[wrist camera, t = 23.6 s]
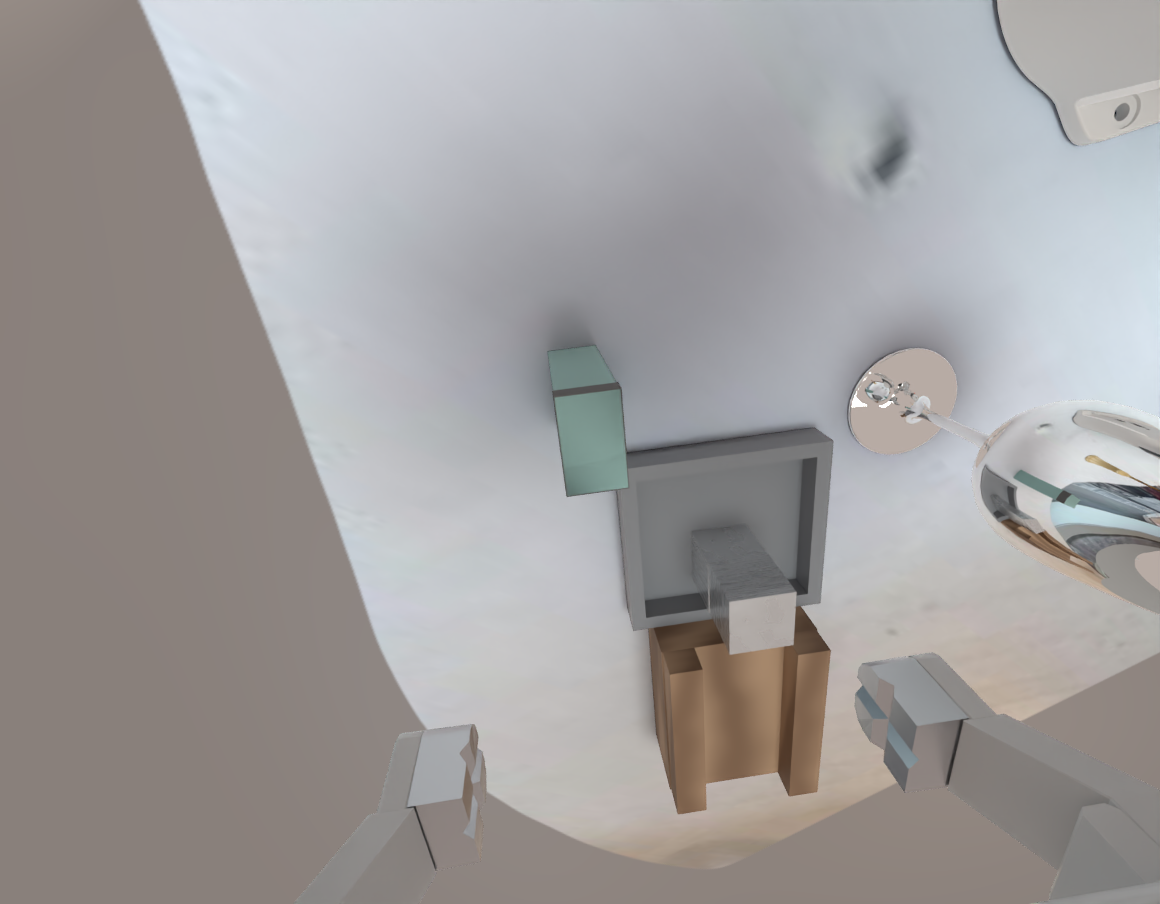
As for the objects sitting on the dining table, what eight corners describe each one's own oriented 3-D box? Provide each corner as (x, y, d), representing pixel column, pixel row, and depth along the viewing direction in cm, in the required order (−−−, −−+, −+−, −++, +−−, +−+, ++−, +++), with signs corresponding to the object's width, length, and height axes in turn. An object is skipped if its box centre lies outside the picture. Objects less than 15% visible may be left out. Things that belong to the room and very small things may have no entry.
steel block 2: (768, 553, 35) (796, 591, 31) (767, 603, 37) (793, 645, 33) (708, 562, 35) (729, 601, 31) (709, 611, 36) (729, 654, 33)
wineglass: (908, 470, 39) (1248, 687, 20) (823, 429, 37) (1113, 627, 19) (979, 374, 36) (1438, 522, 18) (892, 325, 35) (1305, 434, 16)
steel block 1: (744, 570, 40) (745, 524, 39) (766, 604, 37) (768, 555, 35) (692, 577, 40) (691, 531, 39) (708, 612, 36) (708, 563, 35)
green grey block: (546, 350, 33) (553, 396, 24) (596, 344, 33) (621, 387, 24) (556, 427, 35) (566, 496, 26) (603, 420, 35) (629, 488, 26)
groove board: (785, 585, 42) (832, 650, 35) (779, 715, 47) (818, 791, 41) (646, 605, 41) (668, 674, 35) (656, 734, 47) (676, 814, 40)
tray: (814, 427, 37) (833, 440, 35) (804, 582, 42) (820, 603, 40) (613, 454, 36) (619, 470, 34) (627, 608, 41) (633, 630, 39)
